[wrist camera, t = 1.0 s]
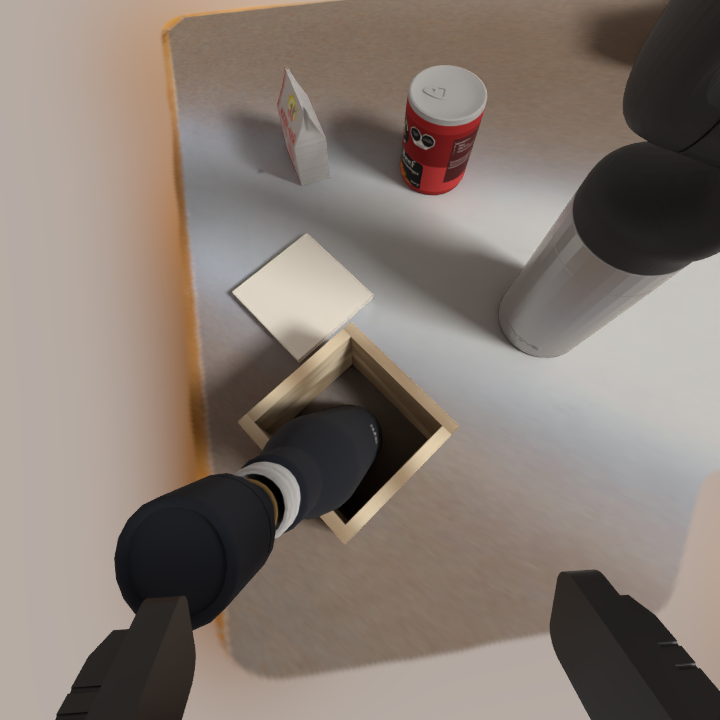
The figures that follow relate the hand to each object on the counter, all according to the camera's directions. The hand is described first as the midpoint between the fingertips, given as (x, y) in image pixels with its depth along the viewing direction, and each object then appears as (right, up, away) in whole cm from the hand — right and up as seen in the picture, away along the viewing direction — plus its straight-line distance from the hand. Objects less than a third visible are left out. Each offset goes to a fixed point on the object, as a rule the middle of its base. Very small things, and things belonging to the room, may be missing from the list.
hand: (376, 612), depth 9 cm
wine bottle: (-1, -2, +33) cm, 33 cm away
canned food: (+9, +29, +44) cm, 53 cm away
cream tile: (-7, +13, +38) cm, 41 cm away
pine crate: (-1, -2, +33) cm, 34 cm away
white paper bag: (-7, +31, +45) cm, 55 cm away
